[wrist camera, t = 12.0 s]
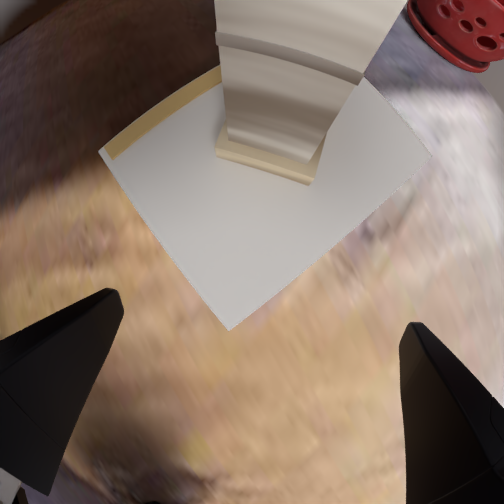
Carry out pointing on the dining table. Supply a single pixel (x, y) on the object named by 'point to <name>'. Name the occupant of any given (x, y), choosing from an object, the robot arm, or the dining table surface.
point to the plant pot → (461, 30)
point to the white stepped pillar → (292, 75)
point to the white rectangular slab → (255, 192)
